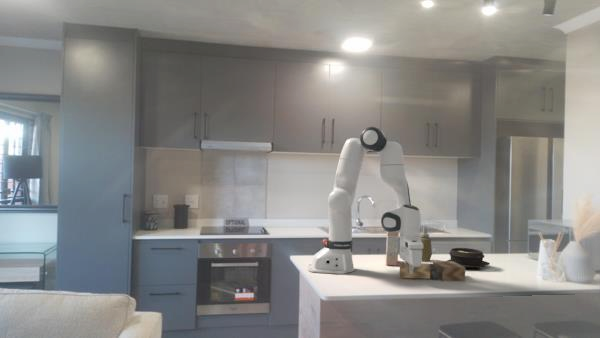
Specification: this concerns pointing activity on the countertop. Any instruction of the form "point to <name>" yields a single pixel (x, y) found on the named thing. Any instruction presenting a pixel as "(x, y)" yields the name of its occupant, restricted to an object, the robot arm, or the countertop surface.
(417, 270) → the stool leg
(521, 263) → the countertop surface
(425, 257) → the squeeze bottle
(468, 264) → the casserole
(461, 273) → the stool seat
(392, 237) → the cracker box
